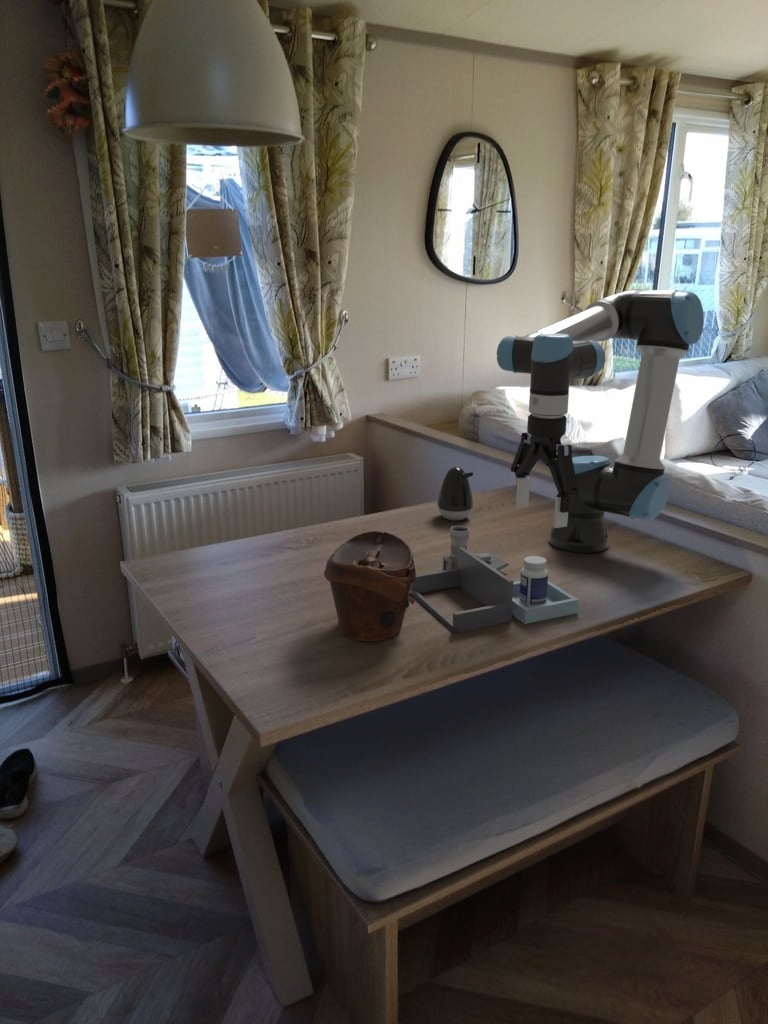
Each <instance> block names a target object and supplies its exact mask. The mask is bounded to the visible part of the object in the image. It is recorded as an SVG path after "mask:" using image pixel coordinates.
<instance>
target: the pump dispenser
mask: <svg viewBox="0 0 768 1024" xmlns="http://www.w3.org/2000/svg"><path fill="white" fill-rule="evenodd" d="M473 476H474V472H473V471H471V472H466V471H465V469H464V468H462V467H460V466H453V467H450V468H449V469H448V470H447V472H446V473H445V475H444V477H443V479H442V482H441V483H440V488H439V491H438V497H437V505H436V506H437V507H438V511H439V514H440V515H441V516H442V517H443V518H444V519H447V520H449V521H456V522H457V521H462V520H465V519H466V518H468V516H470V514H471V512H472V509H473V507H474V499H473V491H472V486H471V483H470V480H469V478H470V477H473Z"/></svg>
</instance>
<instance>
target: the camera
mask: <svg viewBox="0 0 768 1024" xmlns="http://www.w3.org/2000/svg"><path fill="white" fill-rule="evenodd" d="M449 533H450V537H449V538H450V540H451V541H450V553H449V554H446V555H443V556H442V567H441V571H444V570H450V569H456V568H458V553H459V547H463V548H465V549H466V550H468V540H469V538H470V528H469V527H467V526H464V525H453V526H451V527H450V532H449ZM468 551H469V552H471V553H472V554H474V555H475V556H477V557H478V558H480V559H481V560H483V561H484V562H486V563H487V564H489V565H490V566H492V567H493V568H495V569H496V570H498V571H499V572H500V570H502V569H505V568H507V567H508V566H509V565H510V564H509V563H508V562H506V561H504V560H503V559H500V558H499V557H497V556H495V555H494V554H492V553H489V552H487V551H485V552H483V553H478V554H477V553H474V552H472V551H470V550H468Z"/></svg>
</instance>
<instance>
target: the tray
mask: <svg viewBox="0 0 768 1024" xmlns="http://www.w3.org/2000/svg"><path fill="white" fill-rule="evenodd" d="M578 607H579V599H578V598H576V597H575V596H573V595H571V594H570V593H568V592H566V591H565V590H563V589H562V588H561V587H559V586H558V585H555V584H554V583H553V582H550V581H549V580H548V584H547V601H546V604H542V605H537V606H532V607H527V606H524V605H523V604H522V603H520V580H518V581H514V582H513V598H512V614H511V616H513V617H514V618H516V619H517V620H519V621H520V622H521V623H523V624H524V625H526V624H527V625H528V624H532V623H536V622H540V621H546V620H551V619H556V618H561V617H565V616H571V615H575V614H578Z"/></svg>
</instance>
